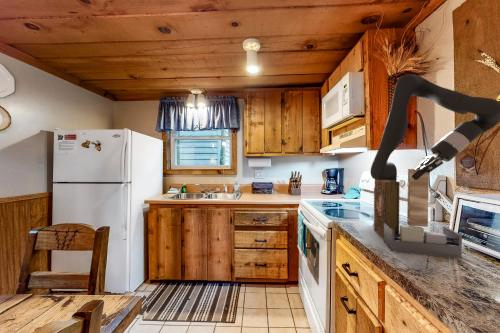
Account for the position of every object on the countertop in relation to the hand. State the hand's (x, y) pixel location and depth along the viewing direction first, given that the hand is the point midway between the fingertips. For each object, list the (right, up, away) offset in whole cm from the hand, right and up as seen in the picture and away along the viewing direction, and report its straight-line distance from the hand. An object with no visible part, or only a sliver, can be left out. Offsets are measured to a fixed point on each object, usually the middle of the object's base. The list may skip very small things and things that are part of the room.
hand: (412, 177), depth 95 cm
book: (-2, -27, +16) cm, 31 cm away
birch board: (+2, -18, 0) cm, 19 cm away
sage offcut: (-3, -27, -4) cm, 28 cm away
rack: (+1, -27, -2) cm, 27 cm away
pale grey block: (+4, -27, -6) cm, 28 cm away
